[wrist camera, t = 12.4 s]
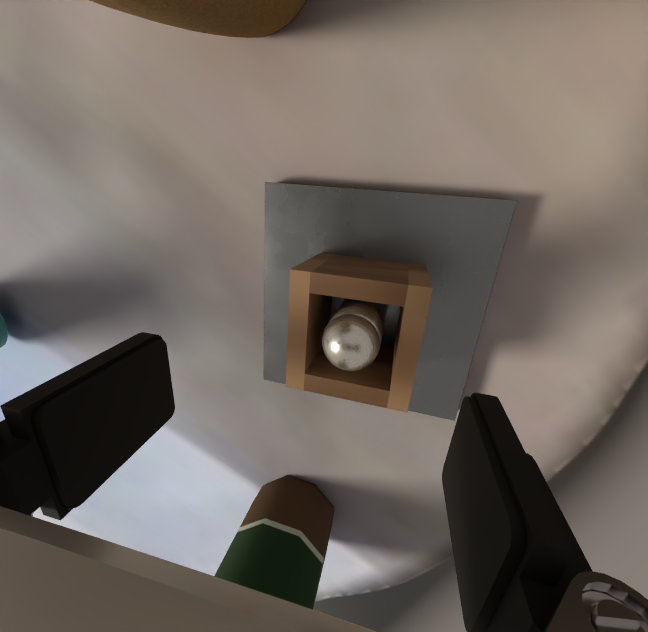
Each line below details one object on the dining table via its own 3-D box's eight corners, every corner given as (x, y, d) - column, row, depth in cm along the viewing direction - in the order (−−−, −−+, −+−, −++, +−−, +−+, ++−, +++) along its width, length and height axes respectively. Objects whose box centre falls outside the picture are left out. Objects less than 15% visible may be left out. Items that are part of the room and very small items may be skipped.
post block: (272, 183, 20) (194, 170, 12) (509, 200, 17) (587, 197, 10) (269, 371, 25) (212, 440, 17) (452, 409, 22) (474, 511, 15)
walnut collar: (320, 252, 19) (289, 269, 14) (425, 265, 18) (432, 288, 13) (314, 344, 22) (285, 386, 17) (407, 361, 20) (407, 412, 15)
